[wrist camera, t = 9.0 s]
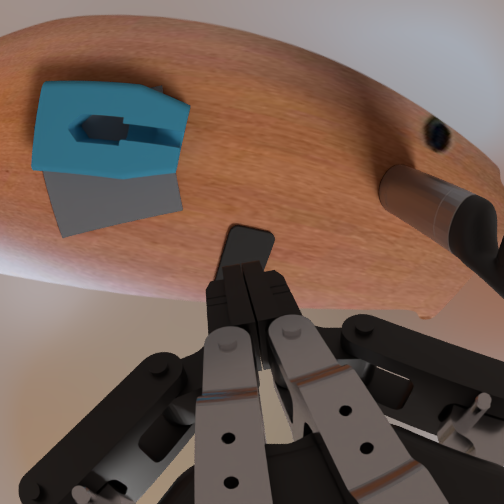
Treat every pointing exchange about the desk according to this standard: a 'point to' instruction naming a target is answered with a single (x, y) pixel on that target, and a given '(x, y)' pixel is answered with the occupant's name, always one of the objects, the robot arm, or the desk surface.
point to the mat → (108, 189)
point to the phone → (245, 247)
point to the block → (107, 151)
